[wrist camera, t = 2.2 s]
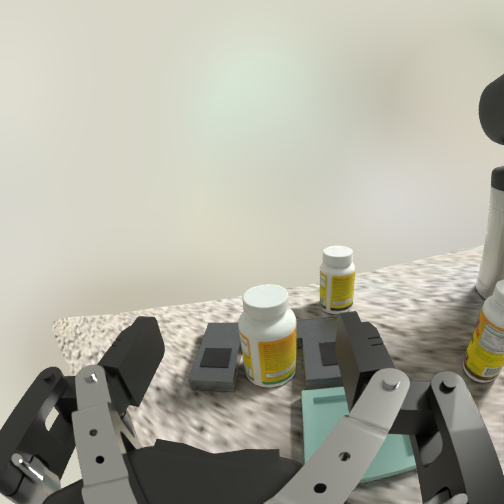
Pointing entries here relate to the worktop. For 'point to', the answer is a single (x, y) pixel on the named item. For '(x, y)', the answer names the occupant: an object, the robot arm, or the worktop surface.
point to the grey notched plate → (229, 352)
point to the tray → (326, 418)
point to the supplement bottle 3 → (487, 340)
